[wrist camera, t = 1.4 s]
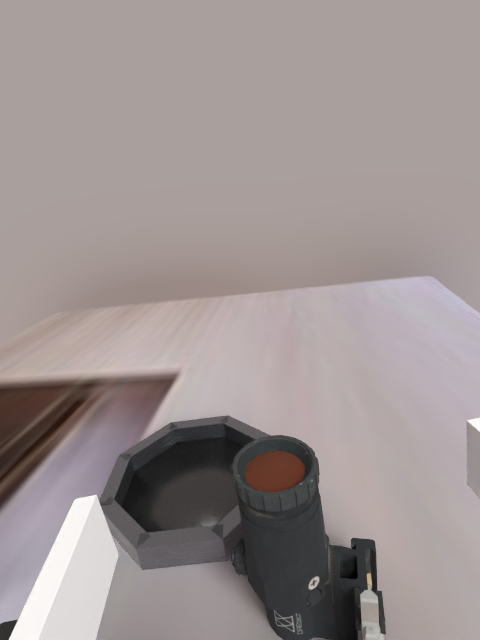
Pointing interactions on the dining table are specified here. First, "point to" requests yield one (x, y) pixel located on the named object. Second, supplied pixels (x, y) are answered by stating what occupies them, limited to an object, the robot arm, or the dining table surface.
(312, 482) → the scope
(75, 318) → the dining table surface
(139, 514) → the dark grey octagonal bowl
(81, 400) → the dining table surface
